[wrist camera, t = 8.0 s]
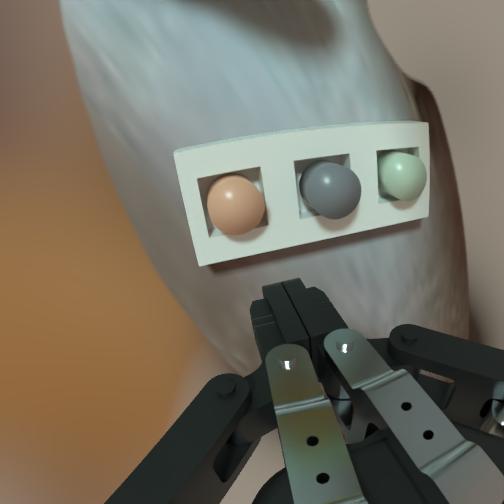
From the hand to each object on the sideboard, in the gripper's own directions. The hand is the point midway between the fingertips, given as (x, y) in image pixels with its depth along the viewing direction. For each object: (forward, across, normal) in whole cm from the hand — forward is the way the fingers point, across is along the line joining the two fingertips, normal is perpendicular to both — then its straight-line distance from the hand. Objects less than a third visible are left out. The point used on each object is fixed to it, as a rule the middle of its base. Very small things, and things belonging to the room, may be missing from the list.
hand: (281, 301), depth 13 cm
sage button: (+17, -16, 0) cm, 23 cm away
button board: (+18, -8, 0) cm, 20 cm away
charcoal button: (+16, -8, 0) cm, 18 cm away
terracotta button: (+16, 0, 0) cm, 16 cm away
